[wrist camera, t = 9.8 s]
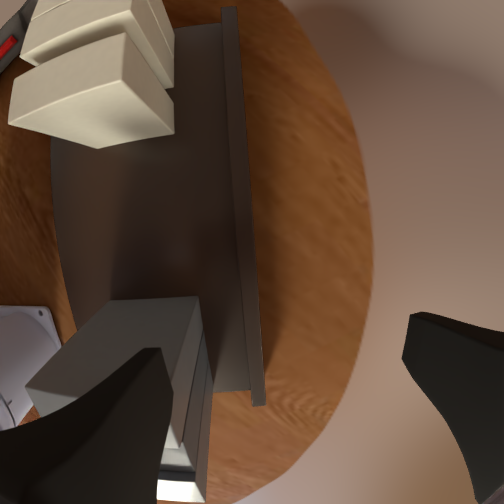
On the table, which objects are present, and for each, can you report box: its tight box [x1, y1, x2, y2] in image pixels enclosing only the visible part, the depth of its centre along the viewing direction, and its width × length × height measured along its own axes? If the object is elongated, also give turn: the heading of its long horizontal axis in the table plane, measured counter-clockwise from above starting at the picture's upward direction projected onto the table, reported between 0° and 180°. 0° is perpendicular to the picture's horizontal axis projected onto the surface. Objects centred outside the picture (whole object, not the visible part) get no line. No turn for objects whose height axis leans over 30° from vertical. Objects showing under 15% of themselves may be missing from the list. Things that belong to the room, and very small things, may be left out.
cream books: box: [20, 0, 175, 89], centre depth 10 cm, size 6×4×9 cm
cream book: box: [8, 32, 175, 149], centre depth 11 cm, size 6×2×9 cm, turn 94°
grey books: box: [25, 296, 213, 502], centre depth 13 cm, size 6×7×10 cm
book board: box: [51, 6, 266, 407], centre depth 16 cm, size 14×27×3 cm, turn 4°
